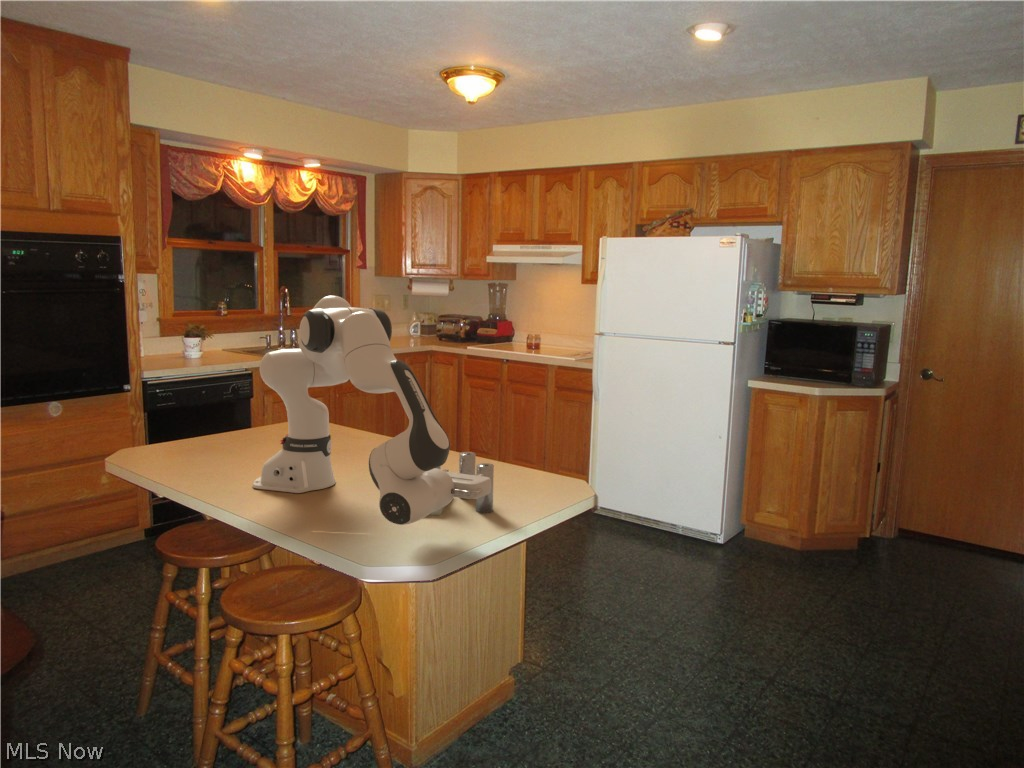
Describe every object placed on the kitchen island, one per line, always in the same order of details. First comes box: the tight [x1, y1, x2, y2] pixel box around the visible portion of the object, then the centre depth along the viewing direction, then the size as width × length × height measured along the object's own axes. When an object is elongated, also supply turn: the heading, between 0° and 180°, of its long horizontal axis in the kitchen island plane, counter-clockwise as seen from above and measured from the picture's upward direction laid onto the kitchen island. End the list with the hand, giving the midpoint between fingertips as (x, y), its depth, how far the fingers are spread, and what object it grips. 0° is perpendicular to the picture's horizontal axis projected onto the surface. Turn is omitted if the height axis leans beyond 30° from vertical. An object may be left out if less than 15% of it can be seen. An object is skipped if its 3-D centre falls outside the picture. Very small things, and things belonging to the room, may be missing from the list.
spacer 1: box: [458, 451, 477, 500], centre depth 193 cm, size 4×4×12 cm
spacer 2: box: [475, 462, 495, 514], centre depth 182 cm, size 4×4×12 cm
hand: (463, 474), depth 170 cm, fingers open, 8 cm apart
